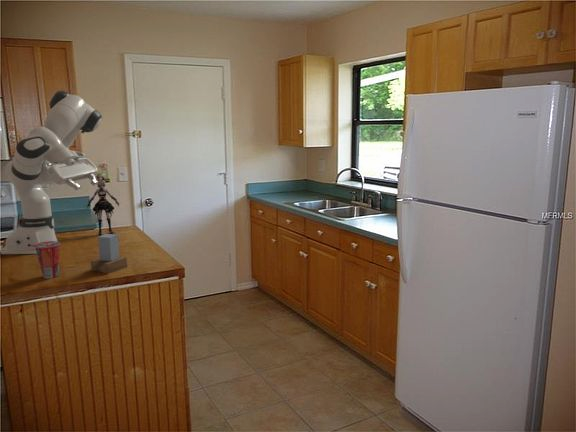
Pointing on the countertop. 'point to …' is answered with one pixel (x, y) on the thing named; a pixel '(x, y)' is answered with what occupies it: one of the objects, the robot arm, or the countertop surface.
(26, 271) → the countertop surface
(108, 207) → the figurine
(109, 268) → the walnut block
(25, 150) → the robot arm
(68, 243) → the countertop surface
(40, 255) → the cup
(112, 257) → the blue block
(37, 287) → the countertop surface
